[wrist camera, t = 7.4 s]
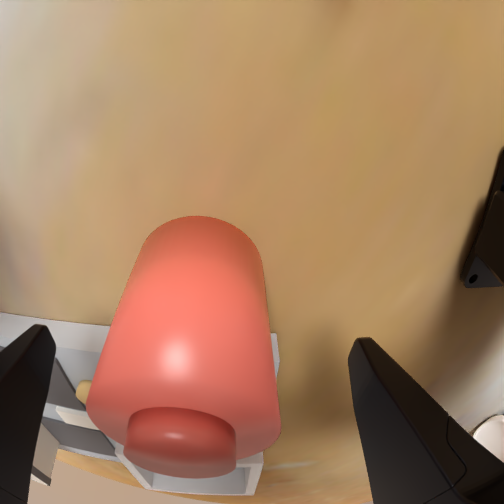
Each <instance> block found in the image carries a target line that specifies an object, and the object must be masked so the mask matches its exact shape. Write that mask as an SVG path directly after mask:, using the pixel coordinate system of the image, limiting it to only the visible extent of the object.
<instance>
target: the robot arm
mask: <svg viewBox="0 0 504 504" xmlns="http://www.w3.org/2000/svg"><path fill="white" fill-rule="evenodd" d="M460 280H461V281H462V283H463V284H464V285H465V287H466V288H481V287H499V286H503V287H504V151H503V154H502V158H501V162H500V166H499V170H498V173H497V177H496V180H495V184H494V187H493V190H492V194H491V197H490V200H489V203H488V206H487V209H486V212H485V215H484V218H483V220H482V223H481V226H480V229H479V231H478V234H477V237H476V239H475V242H474V244H473V247H472V249H471V252H470V254H469V257H468V259H467V261H466V264H465V266H464V268H463V270H462V273H461V276H460ZM55 354H56V343H55V341H54V339H53V337H52V335H51V332H50V330H49V328H48V327H47V326H46V325H43V324H34V325H32V326H31V327H30V328H29V329H27V330H26V331H25V332H24V333H22V334H21V335H20V336H19V337H17V338H16V339H15V340H14V341H12V342H11V343H10V344H9V345H8V346H6V347H5V348H4V349H3V350H2V351H0V504H27V502H28V493H29V485H30V479H31V472H32V466H33V460H34V455H35V449H36V444H37V439H38V434H39V430H40V425H41V421H42V417H43V412H44V408H45V404H46V400H47V396H48V392H49V387H50V381H51V375H52V370H53V364H54V359H55ZM348 367H349V374H350V382H351V391H352V399H353V407H354V412H355V417H356V421H357V426H358V430H359V434H360V439H361V443H362V448H363V453H364V457H365V462H366V467H367V472H368V477H369V482H370V487H371V492H372V498H373V503H374V504H504V463H503V462H502V461H501V460H500V459H498V458H497V457H496V456H495V455H494V454H492V453H491V452H490V451H489V450H487V449H486V448H485V447H484V446H483V445H481V444H480V443H479V442H478V441H477V440H475V439H474V438H473V437H472V436H471V435H470V434H469V433H467V432H466V431H465V430H464V429H463V428H462V427H461V426H460V425H459V424H458V423H457V422H456V421H455V420H454V419H453V418H452V417H451V416H449V414H448V413H447V412H446V411H445V410H444V409H443V408H442V407H441V406H440V405H439V404H438V403H437V402H436V401H435V400H434V399H433V398H432V397H431V396H430V395H429V394H428V393H427V392H426V391H425V390H424V389H423V388H422V387H421V386H420V385H419V384H418V383H417V382H416V381H415V380H414V379H413V378H412V377H411V376H410V375H409V374H408V373H407V372H406V371H405V370H404V369H403V368H402V367H401V366H400V365H399V364H398V363H396V362H395V361H394V360H393V359H392V358H391V357H390V356H389V355H388V354H387V353H386V352H385V351H384V350H383V349H382V348H381V347H380V346H379V345H378V344H377V343H376V342H375V341H374V340H373V339H372V338H370V337H361V338H357V339H356V340H355V342H354V344H353V347H352V349H351V351H350V354H349V357H348Z"/></svg>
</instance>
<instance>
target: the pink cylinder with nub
mask: <svg viewBox="0 0 504 504" xmlns="http://www.w3.org/2000/svg"><path fill="white" fill-rule="evenodd" d="M86 411H87V414H88V416H89V418H90V419H91V421H92V422H93V423H94V425H95V426H96V427H97V428H98V429H99V430H100V431H102V432H103V433H104V434H105V435H107V436H108V437H110V438H111V439H113V440H114V441H116V442H118V443H120V444H122V445H123V446H124V450H123V454H124V456H125V457H126V458H127V459H128V460H129V461H130V462H132V463H133V464H135V465H137V466H139V467H141V468H143V469H146V470H148V471H151V472H154V473H158V474H162V475H166V476H172V477H179V478H192V479H201V478H213V477H219V476H223V475H226V474H228V473H230V472H232V471H233V470H235V468H236V460H238V459H242V458H246V457H249V456H252V455H255V454H257V453H259V452H261V451H263V450H265V449H267V448H268V447H270V446H271V445H272V444H273V443H274V442H275V441H276V440H277V439H278V437H279V435H280V433H281V420H280V411H279V402H278V393H277V385H276V376H275V367H274V359H273V350H272V342H271V333H270V325H269V316H268V308H267V300H266V291H265V283H264V275H263V267H262V260H261V257H260V254H259V252H258V250H257V248H256V246H255V245H254V243H253V242H252V241H251V240H250V238H249V237H248V236H247V235H246V234H244V233H243V232H242V231H241V230H240V229H238V228H236V227H235V226H233V225H231V224H229V223H227V222H225V221H222V220H219V219H216V218H211V217H204V216H188V217H182V218H178V219H174V220H171V221H169V222H167V223H165V224H163V225H161V226H160V227H158V228H157V229H156V230H154V231H153V232H152V233H151V234H150V235H149V237H148V238H147V239H146V241H145V242H144V244H143V246H142V248H141V251H140V253H139V255H138V258H137V260H136V262H135V265H134V267H133V270H132V272H131V275H130V277H129V279H128V282H127V284H126V287H125V290H124V292H123V295H122V297H121V300H120V302H119V305H118V308H117V310H116V313H115V316H114V318H113V321H112V324H111V327H110V329H109V332H108V335H107V338H106V341H105V344H104V346H103V349H102V352H101V355H100V358H99V361H98V364H97V368H96V371H95V374H94V377H93V380H92V383H91V387H90V390H89V393H88V397H87V400H86Z"/></svg>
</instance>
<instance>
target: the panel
mask: <svg viewBox="0 0 504 504" xmlns="http://www.w3.org/2000/svg"><path fill="white" fill-rule="evenodd" d="M34 324H43V325H46V326H47V327H48V328H49V330H50V332H51V335H52V337H53V339H54V341H55V343H56V354H55V359H54V364H53V370H52V375H51V381H50V387H49V392H48V396H47V400H46V404H45V408H44V412H43V417H42V421H41V425H40V430H39V434H38V439H37V444H36V449H35V455H34V460H33V466H32V472H31V480H34V481H36V482H39V483H42V484H45V485H48V486H50V483H51V474H52V470H53V466H54V462H55V458H56V454H57V450H58V448H59V449H63V450H66V451H70V452H74V453H78V454H82V455H87V456H91V457H96V458H101V459H105V460H111V461H116V462H122V463H123V464H124V465H125V466H126V468H127V469H128V470H129V471H130V472H131V473H132V475H133V476H134V477H135V478H136V479H137V480H138V481H139V482H140V484H141V485H142V486H143V487H144V488H145V489H149V490H156V491H165V492H174V493H186V494H201V495H254V493H255V490H256V487H257V483H258V480H259V477H260V474H261V471H262V467H263V464H264V461H263V451H261V452H259V453H257V454H255V455H252V456H249V457H246V458H242V459H238V460H236V468H235V470H233V471H232V472H230V473H228V474H226V475H223V476H219V477H213V478H201V479H192V478H179V477H172V476H166V475H162V474H158V473H154V472H151V471H148V470H146V469H143V468H141V467H139V466H137V465H135V464H133V463H132V462H130V461H129V460H128V459H127V458H126V457H125V456H124V454H123V450H124V446H123V445H122V444H120V443H118V442H116V441H114V440H113V439H111V438H110V437H108V436H107V435H105V434H104V433H103V432H102V431H100V430H99V429H98V428H97V427H96V426H95V425H94V423H93V422H92V421H91V419H90V418H89V416H88V414H87V411H86V400H87V397H88V393H89V390H90V387H91V383H92V380H93V377H94V374H95V371H96V368H97V364H98V361H99V358H100V355H101V352H102V349H103V346H104V344H105V341H106V338H107V335H108V332H109V329H110V327H111V326H101V325H91V324H82V323H73V322H64V321H56V320H49V319H41V318H34V317H27V316H21V315H14V314H8V313H2V312H0V351H2V350H3V349H4V348H5V347H6V346H8V345H9V344H10V343H11V342H12V341H14V340H15V339H16V338H17V337H19V336H20V335H21V334H22V333H24V332H25V331H26V330H27V329H29V328H30V327H31V326H32V325H34ZM271 342H272V350H273V359H274V367H275V376H276V378H277V373H278V368H279V363H280V359H279V351H278V344H277V336H276V333H271Z"/></svg>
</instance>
